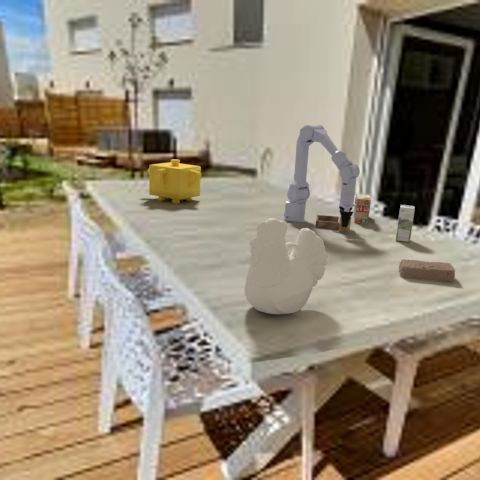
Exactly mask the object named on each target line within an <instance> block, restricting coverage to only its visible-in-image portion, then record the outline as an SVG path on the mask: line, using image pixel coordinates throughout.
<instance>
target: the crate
mask: <svg viewBox="0 0 480 480" xmlns="http://www.w3.org/2000/svg"><path fill="white" fill-rule="evenodd" d="M315 220H316V221H315V228H319V229H328V230H329V229H331V230H332V229H339V220H340V215H339V216H337V215H335V216H334V215H325V214H316V218H315Z"/></svg>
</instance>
